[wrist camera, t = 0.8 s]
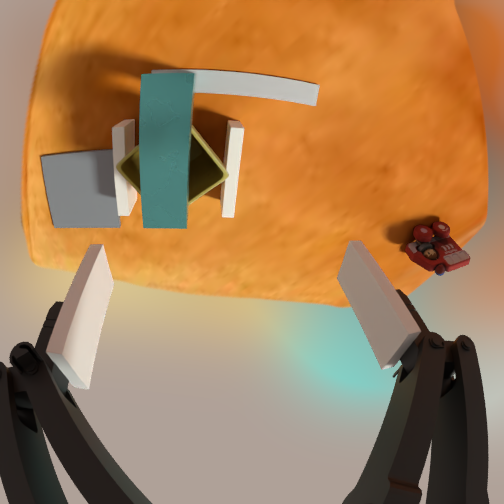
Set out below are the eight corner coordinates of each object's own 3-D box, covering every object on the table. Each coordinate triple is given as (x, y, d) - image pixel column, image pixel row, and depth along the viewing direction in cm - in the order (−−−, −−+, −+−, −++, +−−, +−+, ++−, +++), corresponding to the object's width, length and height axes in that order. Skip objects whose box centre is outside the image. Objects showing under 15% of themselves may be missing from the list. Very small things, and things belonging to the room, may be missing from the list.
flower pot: (185, 102, 30) (178, 111, 23) (225, 152, 35) (231, 176, 28) (133, 144, 32) (113, 167, 25) (174, 190, 37) (166, 223, 30)
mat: (42, 155, 30) (41, 157, 29) (114, 149, 32) (112, 150, 32) (56, 225, 37) (54, 227, 36) (120, 225, 39) (119, 227, 39)
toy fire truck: (403, 227, 47) (434, 261, 39) (447, 218, 48) (477, 247, 40) (397, 256, 52) (424, 290, 43) (439, 244, 52) (466, 274, 44)
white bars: (125, 71, 26) (113, 72, 22) (318, 84, 31) (333, 87, 27) (127, 198, 37) (118, 215, 33) (294, 203, 41) (304, 220, 37)
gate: (167, 73, 27) (141, 74, 16) (200, 73, 28) (194, 73, 17) (163, 174, 35) (143, 228, 24) (192, 174, 36) (186, 228, 25)
